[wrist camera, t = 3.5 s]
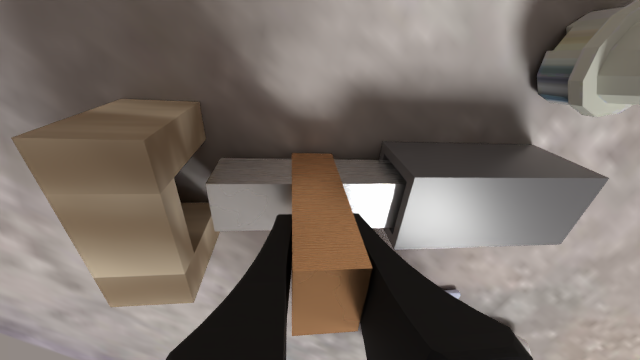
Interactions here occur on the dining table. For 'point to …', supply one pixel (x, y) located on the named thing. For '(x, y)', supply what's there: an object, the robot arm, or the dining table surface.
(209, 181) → the brown and grey block
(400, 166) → the sleeve
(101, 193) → the socket block
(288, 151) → the dining table surface
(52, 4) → the dining table surface
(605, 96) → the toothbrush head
